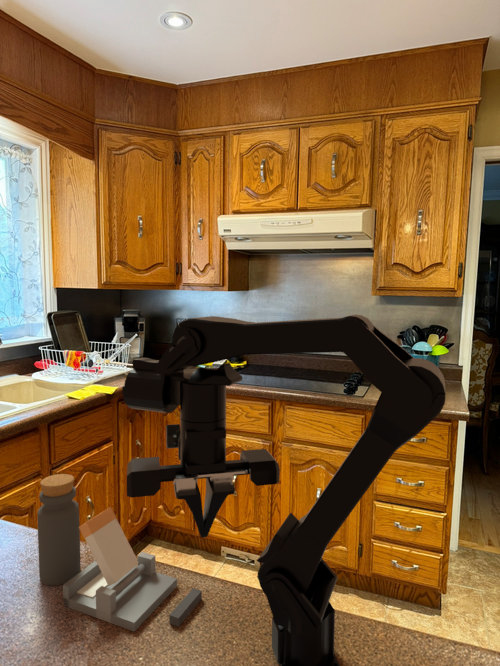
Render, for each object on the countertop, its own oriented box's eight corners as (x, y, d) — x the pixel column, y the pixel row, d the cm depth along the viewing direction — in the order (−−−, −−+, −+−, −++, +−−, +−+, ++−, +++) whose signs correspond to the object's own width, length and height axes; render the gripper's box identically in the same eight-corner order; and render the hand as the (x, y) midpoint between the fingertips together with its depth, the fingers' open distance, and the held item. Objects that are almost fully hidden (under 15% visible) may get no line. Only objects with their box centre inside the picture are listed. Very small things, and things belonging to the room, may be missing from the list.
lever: (148, 569, 68) (114, 504, 69) (117, 597, 61) (81, 525, 63) (140, 573, 68) (107, 508, 70) (109, 601, 62) (73, 529, 64)
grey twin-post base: (177, 586, 68) (176, 561, 67) (134, 631, 59) (133, 603, 58) (112, 566, 72) (111, 543, 72) (63, 605, 63) (62, 579, 63)
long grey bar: (193, 596, 66) (193, 588, 65) (201, 598, 65) (201, 590, 65) (169, 623, 60) (169, 615, 60) (178, 626, 59) (178, 618, 59)
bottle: (66, 588, 67) (63, 489, 66) (30, 583, 68) (27, 485, 67) (88, 565, 73) (85, 473, 71) (55, 561, 74) (52, 470, 73)
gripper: (259, 398, 68) (258, 500, 69) (128, 405, 63) (129, 513, 65) (281, 419, 57) (280, 539, 58) (125, 428, 53) (127, 558, 54)
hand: (203, 535), depth 59 cm, fingers closed
